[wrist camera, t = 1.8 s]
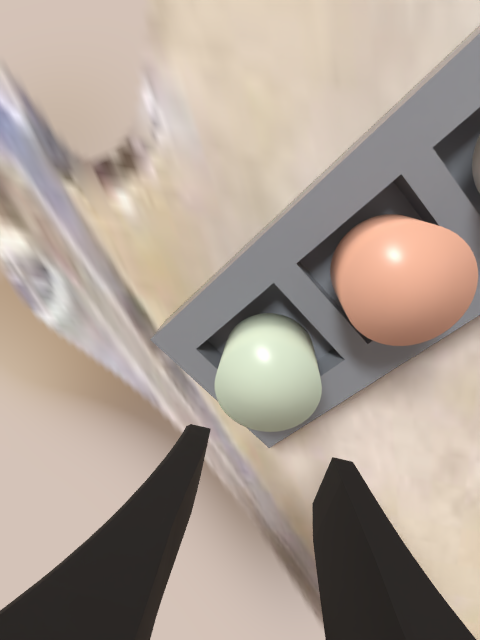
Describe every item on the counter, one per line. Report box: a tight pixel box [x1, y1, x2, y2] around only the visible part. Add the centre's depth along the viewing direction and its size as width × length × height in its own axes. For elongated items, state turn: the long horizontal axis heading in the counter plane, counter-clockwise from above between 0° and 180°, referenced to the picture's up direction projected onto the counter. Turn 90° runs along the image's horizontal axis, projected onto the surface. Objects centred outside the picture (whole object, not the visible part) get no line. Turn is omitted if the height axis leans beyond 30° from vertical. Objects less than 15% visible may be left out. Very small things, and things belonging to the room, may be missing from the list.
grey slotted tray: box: [151, 26, 480, 448], centre depth 15 cm, size 9×21×2 cm, turn 134°
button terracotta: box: [330, 214, 478, 346], centre depth 13 cm, size 4×4×3 cm
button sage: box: [215, 313, 322, 432], centre depth 15 cm, size 4×4×3 cm
